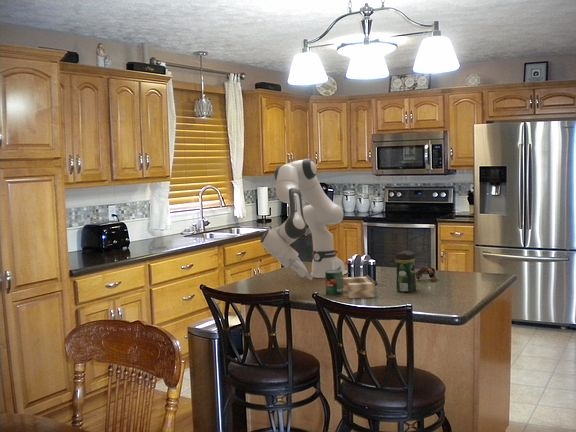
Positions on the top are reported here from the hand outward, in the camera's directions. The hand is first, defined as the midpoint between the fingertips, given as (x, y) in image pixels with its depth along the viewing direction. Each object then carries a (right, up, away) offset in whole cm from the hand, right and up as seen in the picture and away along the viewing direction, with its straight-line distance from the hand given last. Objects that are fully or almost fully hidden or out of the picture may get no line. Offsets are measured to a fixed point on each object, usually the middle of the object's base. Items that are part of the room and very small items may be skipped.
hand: (311, 278), depth 282 cm
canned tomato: (+11, -8, +1) cm, 13 cm away
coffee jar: (+44, -6, +3) cm, 44 cm away
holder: (+22, -7, +2) cm, 23 cm away
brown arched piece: (+59, -4, +27) cm, 65 cm away
